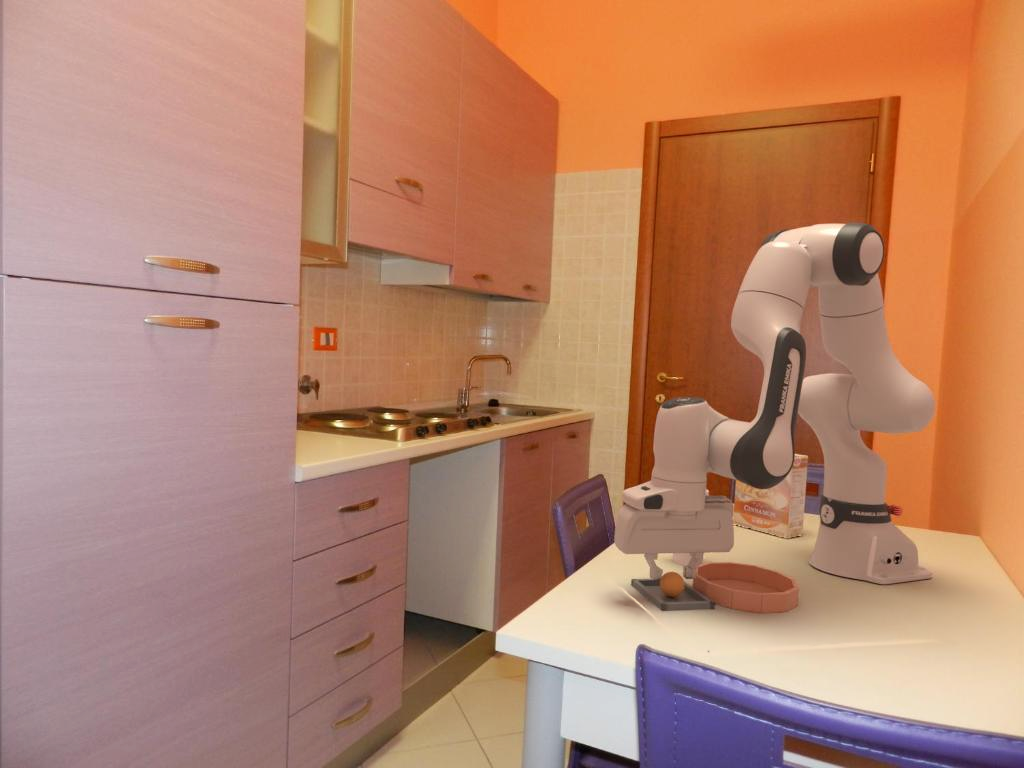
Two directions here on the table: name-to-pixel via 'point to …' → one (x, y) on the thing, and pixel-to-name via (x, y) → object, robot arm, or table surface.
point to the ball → (672, 584)
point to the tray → (684, 601)
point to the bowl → (746, 587)
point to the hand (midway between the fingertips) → (672, 578)
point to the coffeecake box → (774, 503)
